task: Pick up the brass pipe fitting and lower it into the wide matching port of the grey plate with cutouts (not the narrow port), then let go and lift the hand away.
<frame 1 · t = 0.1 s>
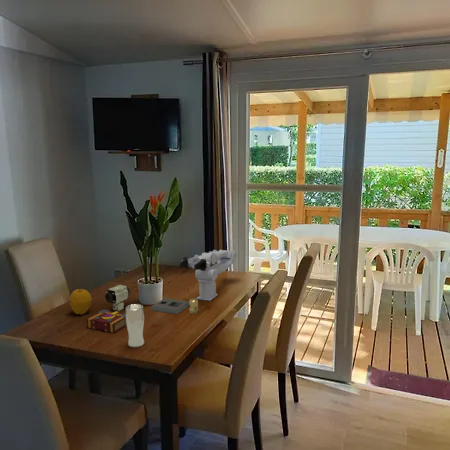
hand: (187, 266, 185), 22 cm above the table, tool horizontal, fingers open, 7 cm apart
white security camera: (119, 310, 191), on the table
brass fitting: (193, 312, 186), on the table
grey plate with cutouts: (170, 307, 192), on the table
decorative book: (108, 326, 173), on the table
beer glass: (136, 344, 155), on the table
apple: (81, 313, 187), on the table
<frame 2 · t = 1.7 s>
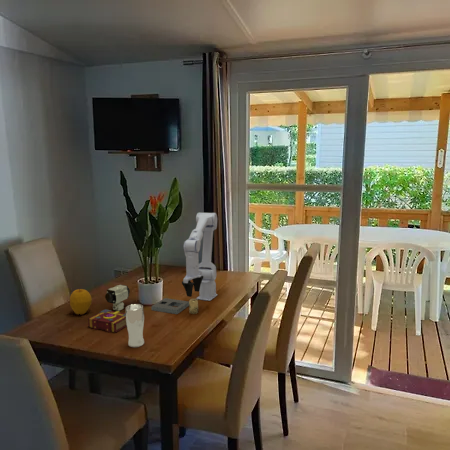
hand: (193, 293, 185), 9 cm above the table, tool pointing down, fingers open, 7 cm apart
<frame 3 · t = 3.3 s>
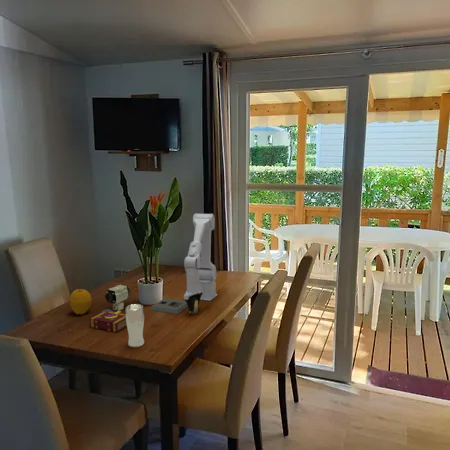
hand: (193, 309, 186), 1 cm above the table, tool pointing down, fingers closed on brass fitting, 4 cm apart
brass fitting: (193, 312, 186), on the table, touching gripper
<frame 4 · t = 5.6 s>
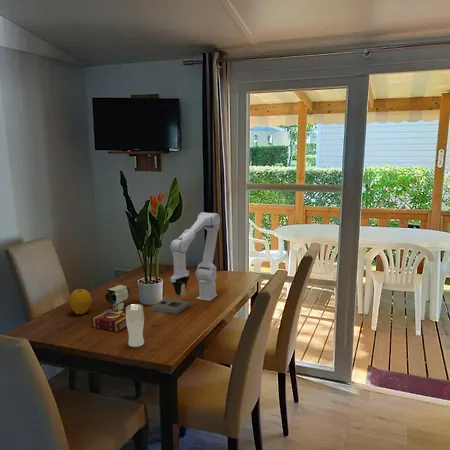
hand: (180, 292, 188), 8 cm above the table, tool pointing down, fingers closed on brass fitting, 4 cm apart
brass fitting: (180, 295, 189), point 7 cm above the table, touching gripper
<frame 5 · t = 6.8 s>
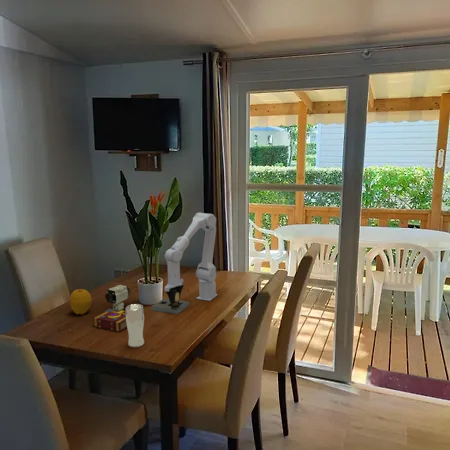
hand: (174, 301, 191), 4 cm above the table, tool pointing down, fingers closed on brass fitting, 4 cm apart
brass fitting: (175, 304, 191), point 2 cm above the table, touching gripper
when the fingers open (3 cm above the table, at t = 7.8 s): brass fitting drops 1 cm, resting in grey plate with cutouts.
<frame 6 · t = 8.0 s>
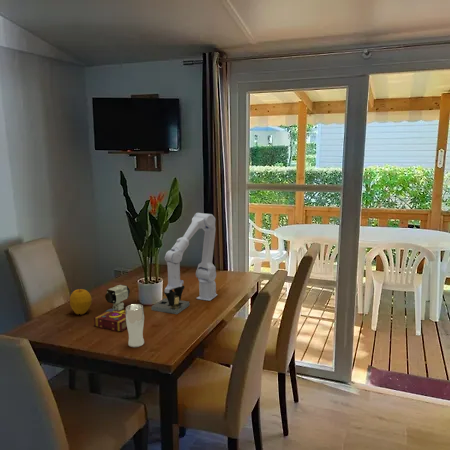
hand: (174, 302, 191), 3 cm above the table, tool pointing down, fingers open, 6 cm apart
brass fitting: (175, 308, 191), resting in grey plate with cutouts
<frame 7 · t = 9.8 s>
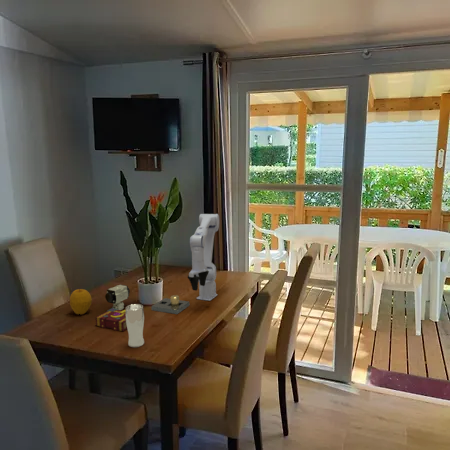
hand: (198, 287, 190), 10 cm above the table, tool pointing down, fingers open, 7 cm apart
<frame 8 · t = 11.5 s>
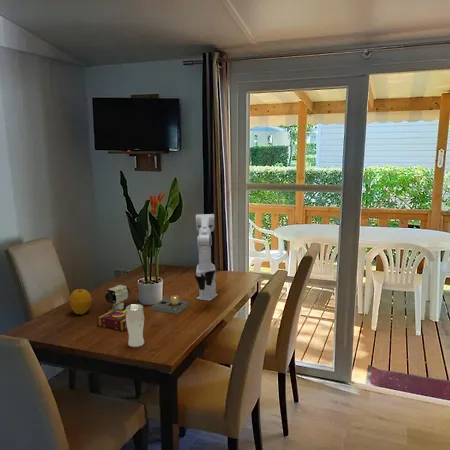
hand: (205, 287, 189), 10 cm above the table, tool pointing down, fingers open, 7 cm apart
at the end: brass fitting 0.0 cm from the target spot on the grey plate with cutouts, point 0.0 cm above the grey plate with cutouts's base; brass fitting tilted 0°; the gripper is holding nothing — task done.
